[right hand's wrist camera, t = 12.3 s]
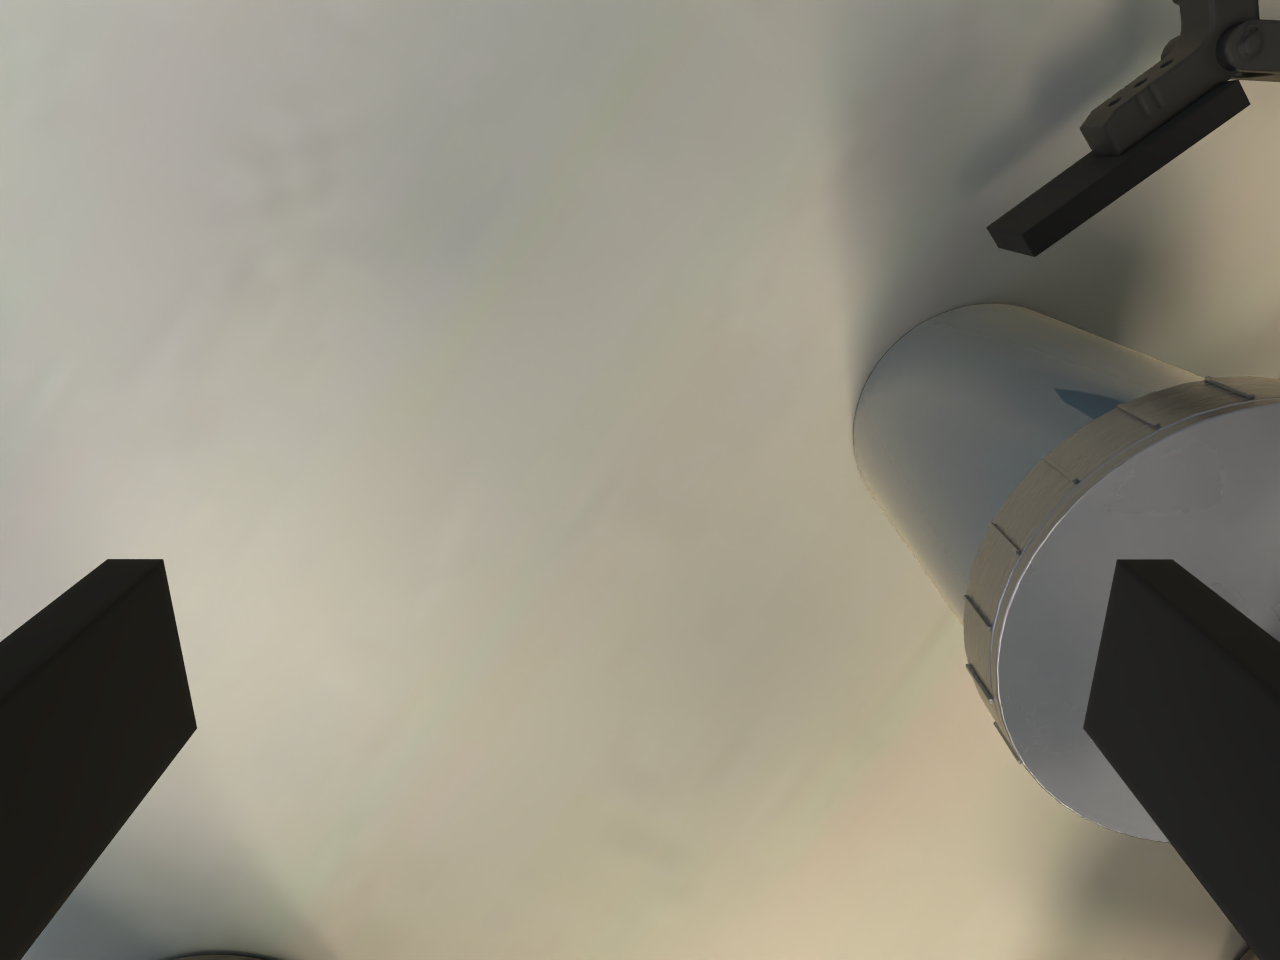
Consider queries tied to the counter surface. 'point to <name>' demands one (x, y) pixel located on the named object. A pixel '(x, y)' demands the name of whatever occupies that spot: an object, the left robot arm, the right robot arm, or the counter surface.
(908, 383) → the jar
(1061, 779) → the lid
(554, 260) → the counter surface
